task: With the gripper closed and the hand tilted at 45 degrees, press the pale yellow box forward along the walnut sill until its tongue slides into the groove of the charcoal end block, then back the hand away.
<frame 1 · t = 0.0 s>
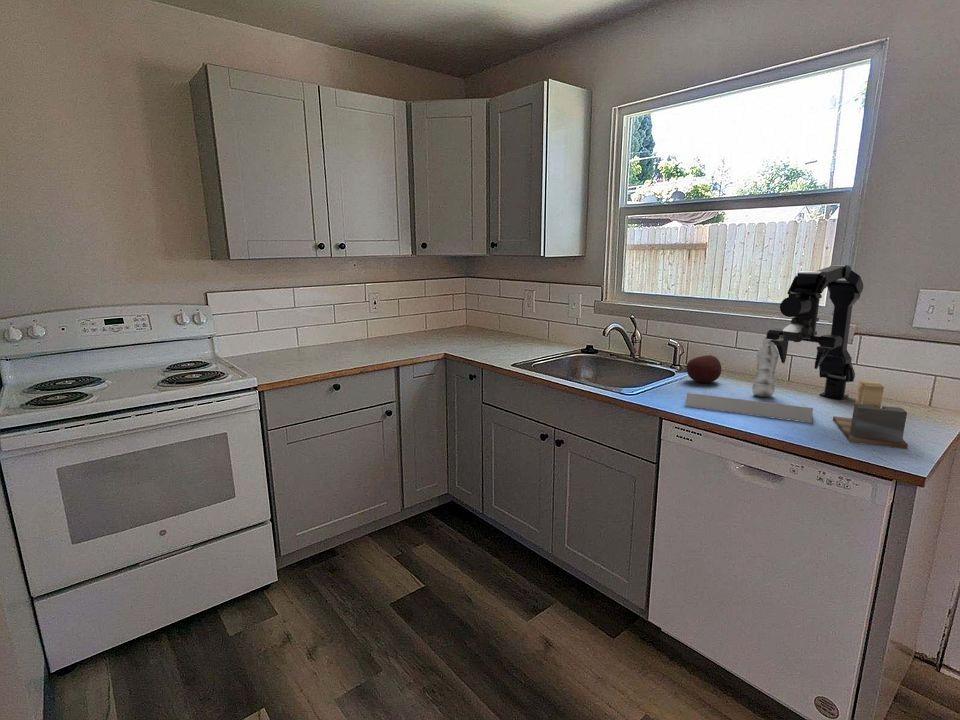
hand: (799, 365, 152), 15 cm above the table, tool pointing down, fingers open, 9 cm apart
decorative molding: (745, 411, 159), on the table
walnut sill: (863, 429, 140), on the table
pale yellow box: (868, 405, 138), point 7 cm above the table, slide at 0.0 cm
plastic bottle: (762, 396, 172), on the table
potato: (703, 383, 189), on the table
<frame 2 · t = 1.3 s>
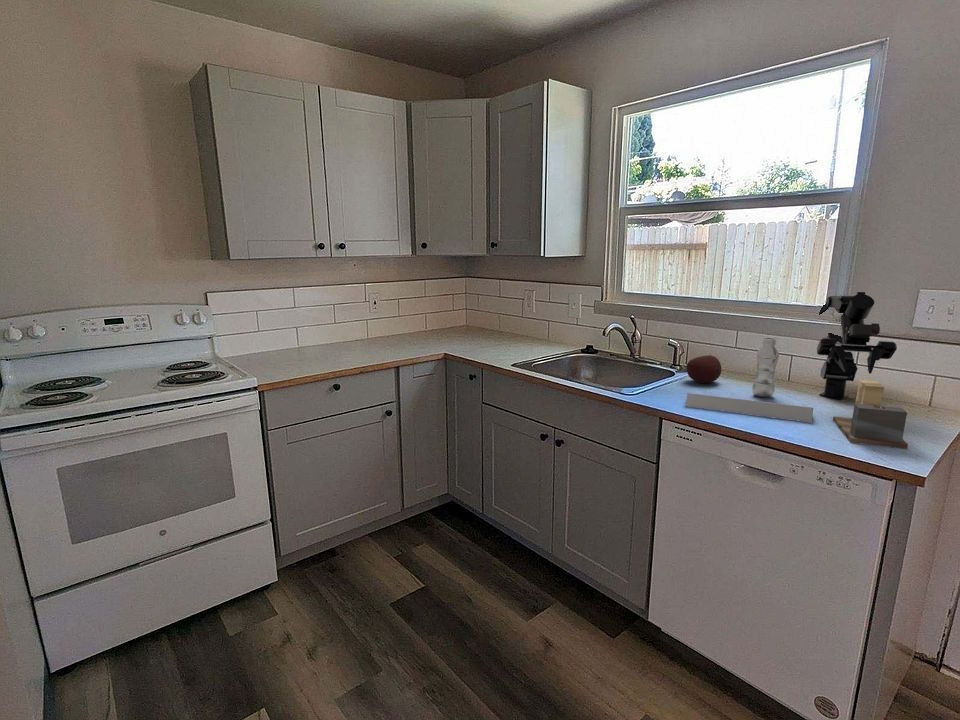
hand: (857, 372, 148), 14 cm above the table, tool tilted 45°, fingers open, 6 cm apart
nothing on the table moved.
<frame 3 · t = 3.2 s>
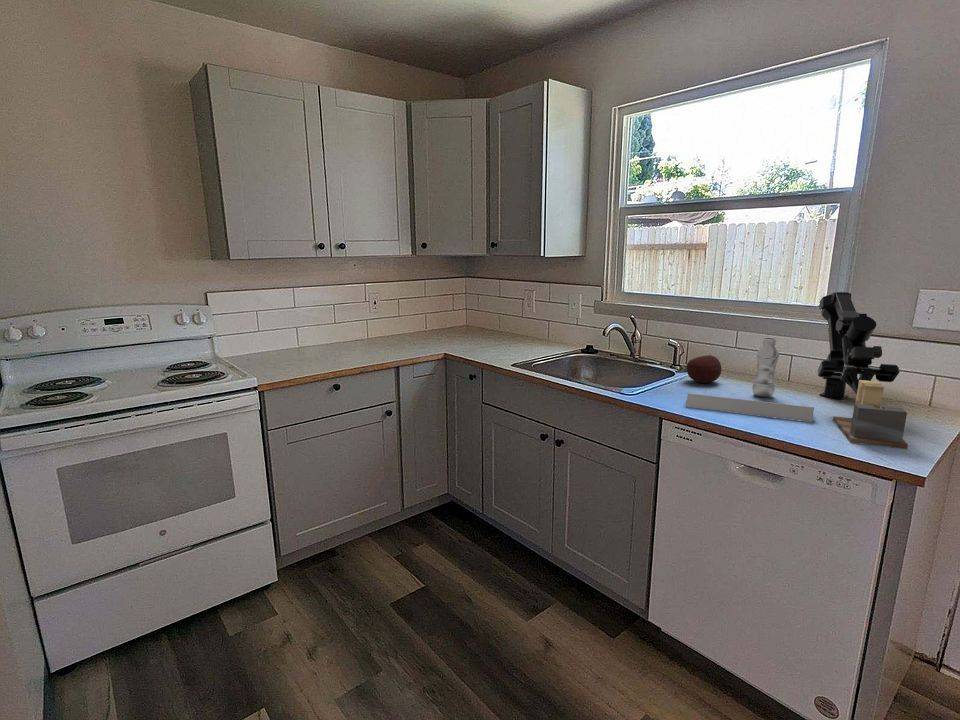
hand: (859, 395, 145), 8 cm above the table, tool tilted 45°, fingers closed
nothing on the table moved.
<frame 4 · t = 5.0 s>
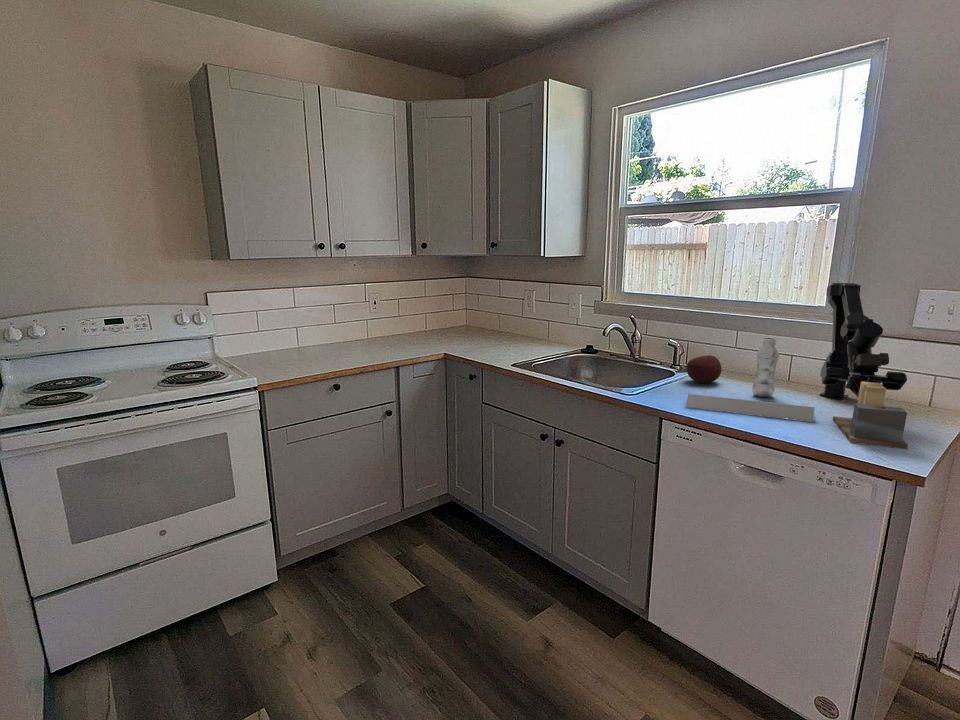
hand: (865, 404, 140), 7 cm above the table, tool tilted 45°, fingers closed, pressing on pale yellow box
pale yellow box: (870, 407, 136), point 7 cm above the table, slide at 1.7 cm, touching gripper
everything else where it was.
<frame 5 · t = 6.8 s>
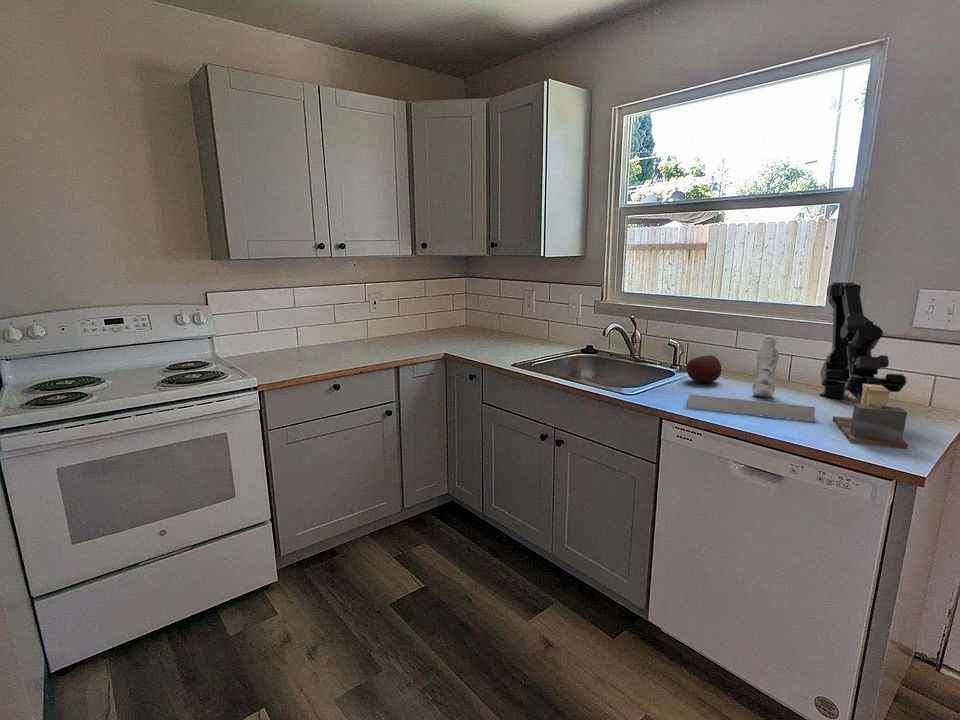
hand: (865, 406, 140), 6 cm above the table, tool tilted 45°, fingers closed
pale yellow box: (873, 409, 134), point 7 cm above the table, slide at 4.3 cm
everything else where it was.
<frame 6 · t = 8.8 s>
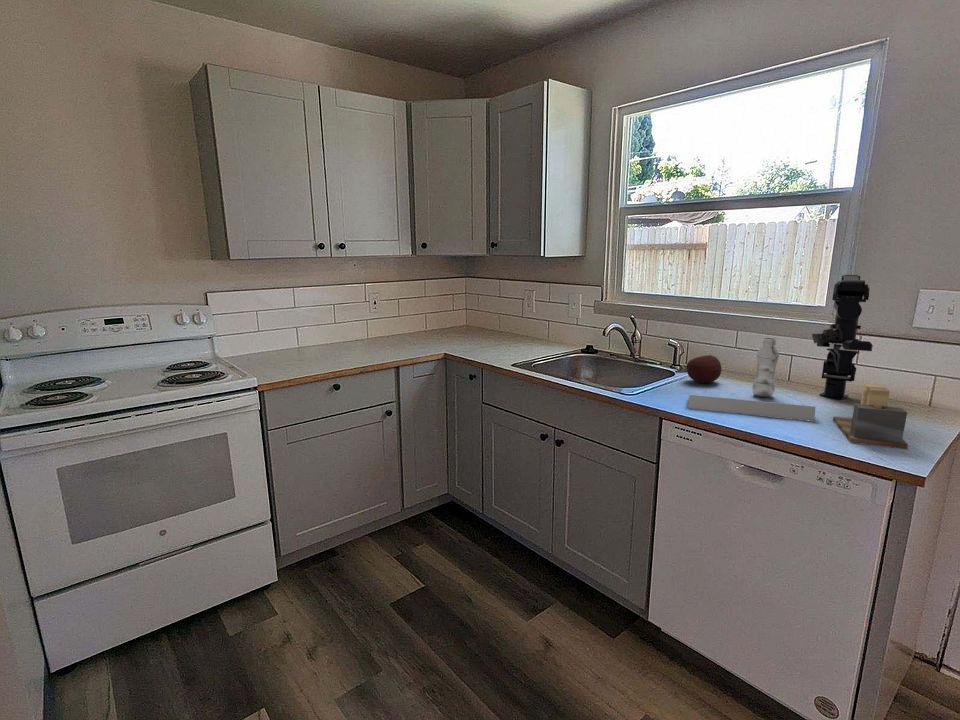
hand: (839, 372, 155), 12 cm above the table, tool pointing down, fingers closed
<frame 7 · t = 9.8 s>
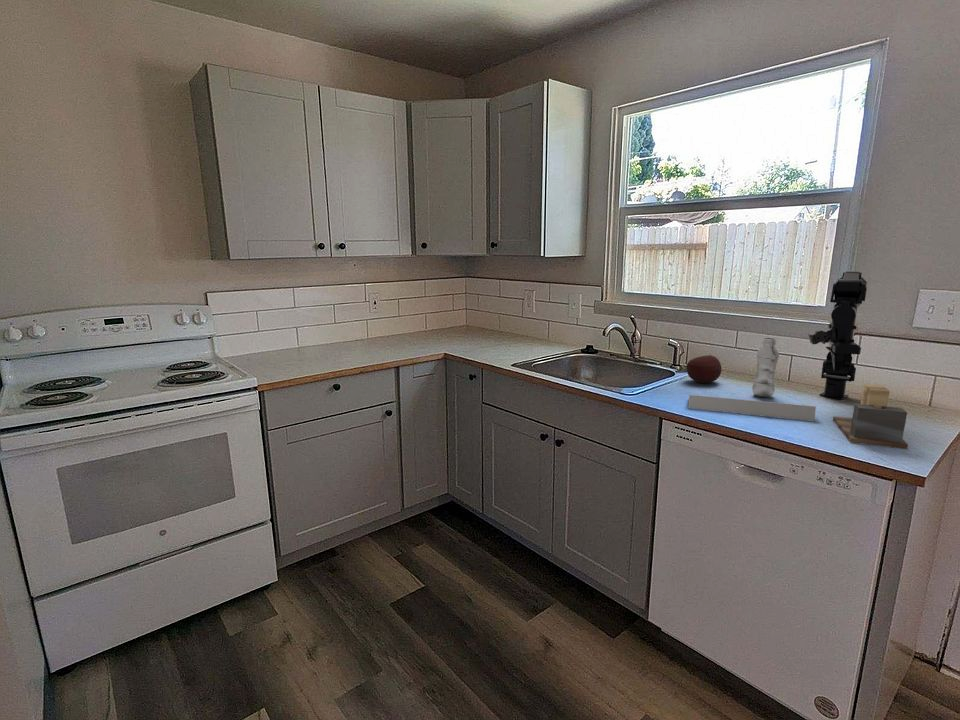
hand: (836, 371, 156), 12 cm above the table, tool pointing down, fingers closed
nothing on the table moved.
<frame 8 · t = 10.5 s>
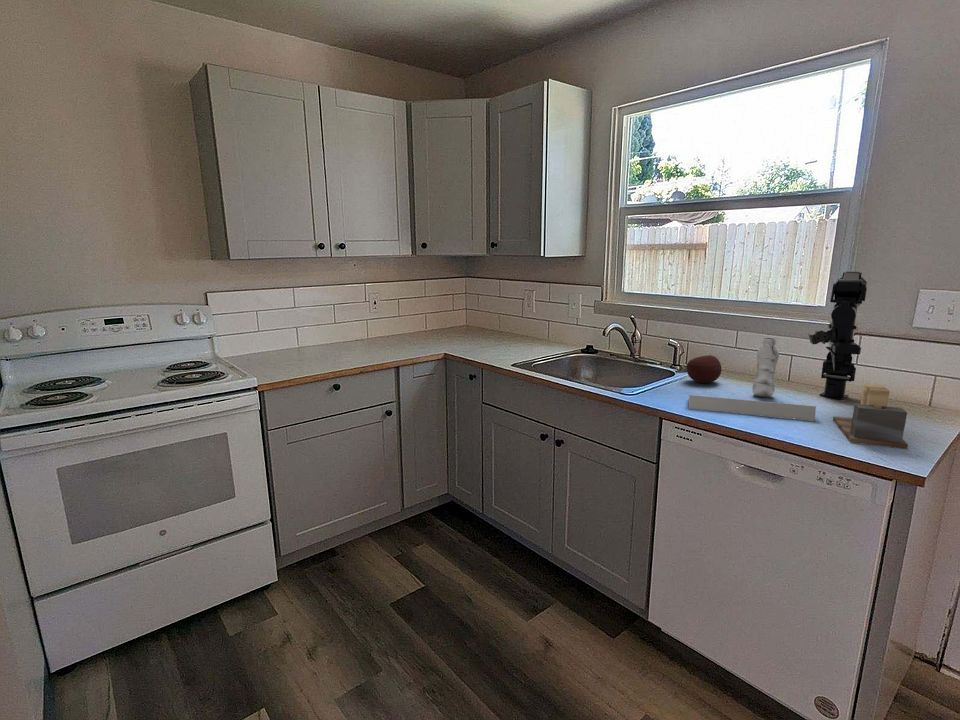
hand: (836, 371, 156), 12 cm above the table, tool pointing down, fingers closed
nothing on the table moved.
at the end: pale yellow box slide at 4.3 cm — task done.
